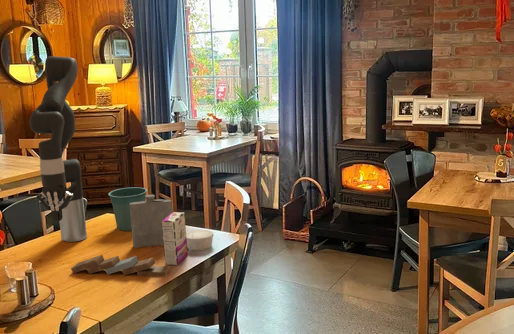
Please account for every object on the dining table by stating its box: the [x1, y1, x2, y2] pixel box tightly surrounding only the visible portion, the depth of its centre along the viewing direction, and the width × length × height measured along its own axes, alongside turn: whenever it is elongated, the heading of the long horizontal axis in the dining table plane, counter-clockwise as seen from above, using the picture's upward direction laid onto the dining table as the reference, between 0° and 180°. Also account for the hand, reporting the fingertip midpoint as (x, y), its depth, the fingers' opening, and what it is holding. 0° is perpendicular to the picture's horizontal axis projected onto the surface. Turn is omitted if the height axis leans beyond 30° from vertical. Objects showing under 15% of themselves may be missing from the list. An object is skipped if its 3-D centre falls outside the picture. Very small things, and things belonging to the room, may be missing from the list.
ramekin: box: [186, 229, 214, 252], centre depth 201 cm, size 11×11×5 cm
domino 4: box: [121, 257, 156, 276], centre depth 178 cm, size 2×5×10 cm
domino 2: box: [86, 255, 121, 275], centre depth 180 cm, size 2×5×10 cm
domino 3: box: [104, 255, 139, 276], centre depth 179 cm, size 2×5×10 cm
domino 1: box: [70, 254, 105, 274], centre depth 181 cm, size 2×5×10 cm
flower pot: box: [108, 186, 148, 232], centre depth 229 cm, size 16×16×16 cm
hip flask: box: [130, 194, 173, 249], centre depth 205 cm, size 16×4×20 cm, turn 100°
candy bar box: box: [162, 211, 189, 266], centre depth 187 cm, size 11×5×16 cm, turn 168°
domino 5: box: [136, 265, 171, 277], centre depth 178 cm, size 2×5×10 cm
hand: (58, 220), depth 179 cm, fingers closed
